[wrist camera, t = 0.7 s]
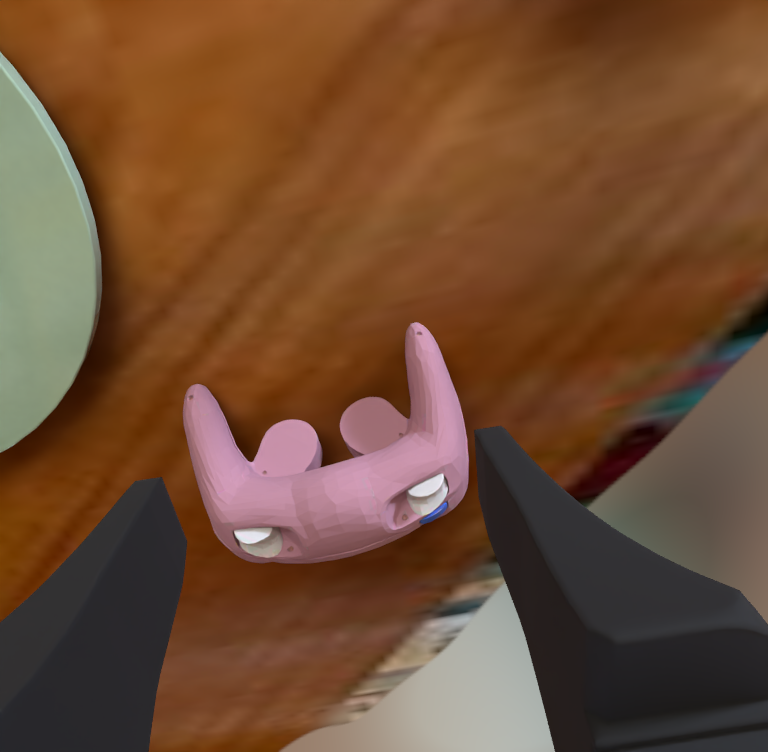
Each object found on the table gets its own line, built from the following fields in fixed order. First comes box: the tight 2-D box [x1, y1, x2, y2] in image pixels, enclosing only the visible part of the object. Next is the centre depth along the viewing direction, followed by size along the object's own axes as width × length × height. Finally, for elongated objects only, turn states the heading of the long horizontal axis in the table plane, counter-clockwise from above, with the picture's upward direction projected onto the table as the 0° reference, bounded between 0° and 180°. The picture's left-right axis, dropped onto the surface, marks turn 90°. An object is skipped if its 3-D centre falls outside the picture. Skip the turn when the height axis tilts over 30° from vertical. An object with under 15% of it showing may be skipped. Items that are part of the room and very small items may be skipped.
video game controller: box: [183, 322, 469, 563], centre depth 24 cm, size 10×5×7 cm, turn 104°
